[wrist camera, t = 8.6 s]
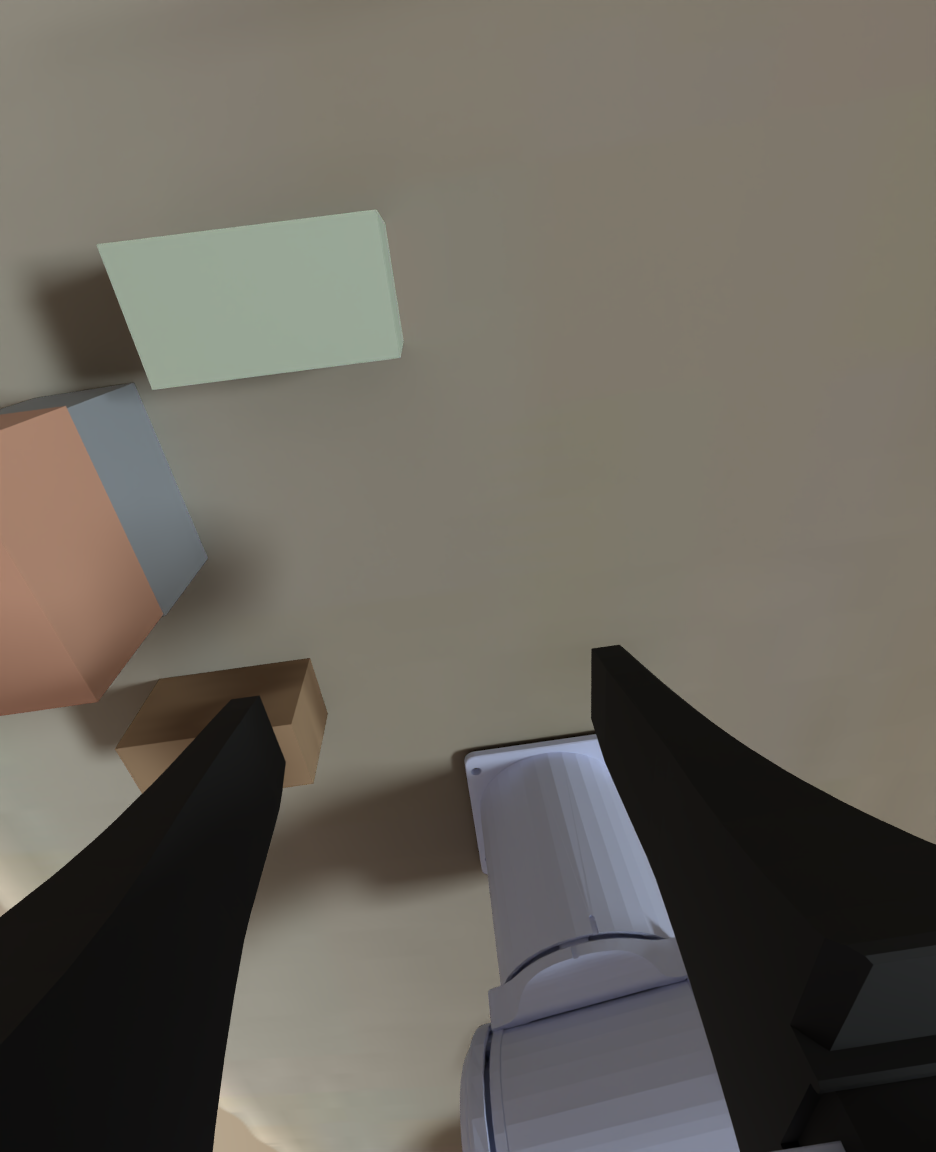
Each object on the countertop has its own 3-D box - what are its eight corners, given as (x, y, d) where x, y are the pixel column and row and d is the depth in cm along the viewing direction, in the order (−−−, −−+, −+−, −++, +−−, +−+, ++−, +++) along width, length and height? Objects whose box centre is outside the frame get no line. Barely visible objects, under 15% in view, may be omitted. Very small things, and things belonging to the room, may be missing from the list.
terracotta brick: (163, 614, 17) (97, 701, 13) (60, 628, 17) (-32, 720, 13) (65, 406, 14) (-54, 449, 10) (-61, 422, 14) (-223, 472, 10)
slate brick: (207, 557, 20) (165, 616, 17) (124, 571, 20) (64, 632, 17) (134, 382, 17) (62, 409, 14) (35, 397, 17) (-62, 428, 14)
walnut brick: (310, 656, 23) (291, 724, 20) (327, 711, 25) (313, 783, 21) (160, 677, 23) (114, 748, 20) (188, 731, 25) (150, 806, 21)
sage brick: (385, 223, 16) (376, 209, 12) (403, 341, 17) (400, 357, 14) (167, 251, 16) (95, 244, 12) (205, 366, 17) (152, 389, 14)
